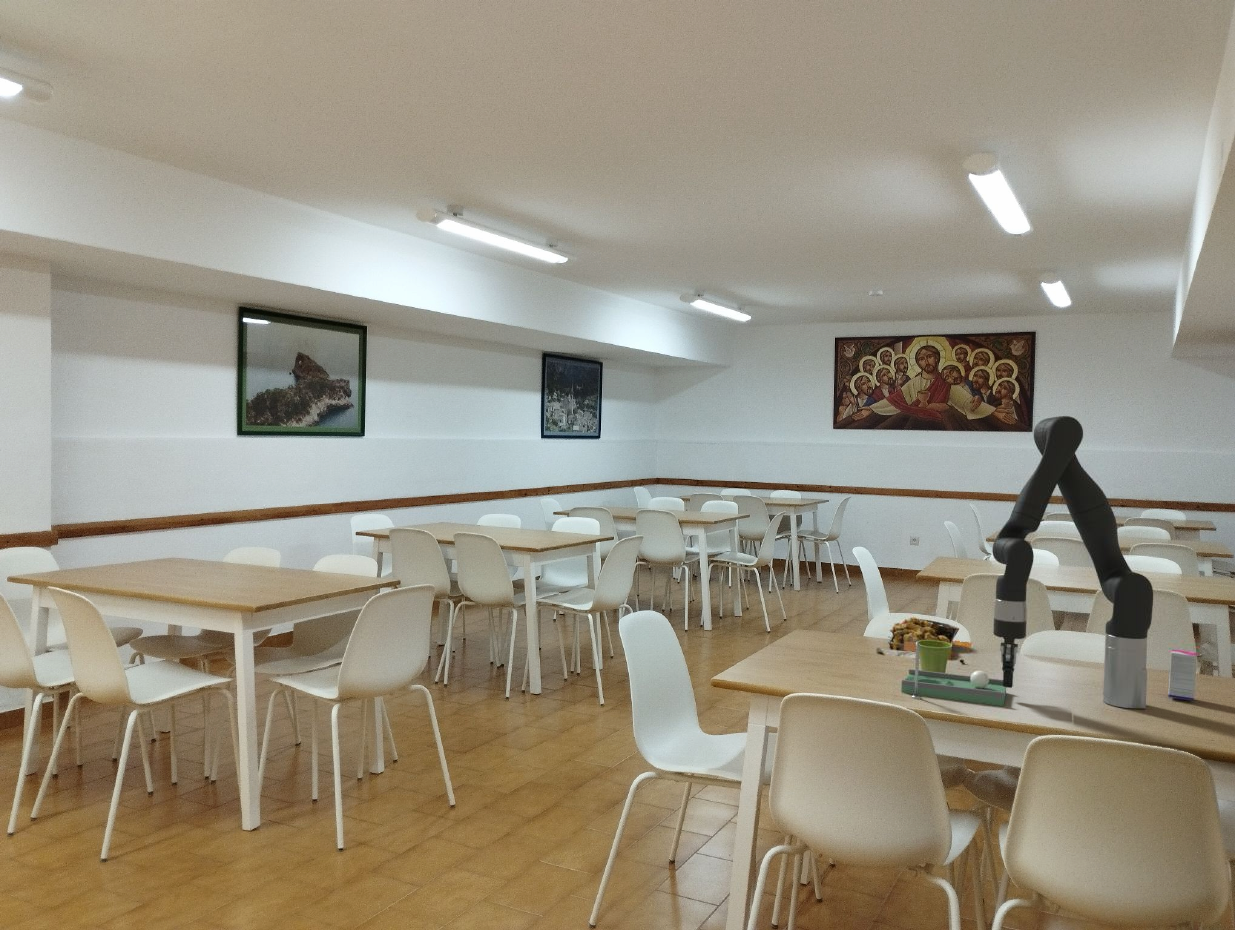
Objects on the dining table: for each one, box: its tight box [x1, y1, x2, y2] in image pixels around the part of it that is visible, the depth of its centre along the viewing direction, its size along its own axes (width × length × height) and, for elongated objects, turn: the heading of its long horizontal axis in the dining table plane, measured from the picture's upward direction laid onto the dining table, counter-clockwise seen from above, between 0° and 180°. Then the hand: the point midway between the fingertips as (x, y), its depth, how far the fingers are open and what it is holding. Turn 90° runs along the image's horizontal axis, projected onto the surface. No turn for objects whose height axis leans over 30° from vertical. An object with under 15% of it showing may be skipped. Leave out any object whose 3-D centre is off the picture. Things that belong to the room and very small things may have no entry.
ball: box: [970, 670, 990, 688], centre depth 237 cm, size 4×4×4 cm
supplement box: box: [1167, 648, 1198, 701], centre depth 241 cm, size 6×6×12 cm
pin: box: [904, 641, 922, 700], centre depth 234 cm, size 4×2×14 cm, turn 65°
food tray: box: [875, 616, 973, 665], centre depth 293 cm, size 35×26×11 cm
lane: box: [900, 668, 1007, 707], centre depth 240 cm, size 24×14×3 cm, turn 65°
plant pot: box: [917, 640, 953, 673], centre depth 258 cm, size 9×9×9 cm
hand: (1007, 686), depth 234 cm, fingers closed
